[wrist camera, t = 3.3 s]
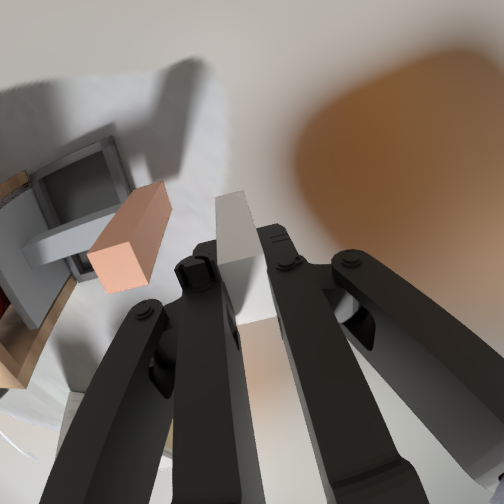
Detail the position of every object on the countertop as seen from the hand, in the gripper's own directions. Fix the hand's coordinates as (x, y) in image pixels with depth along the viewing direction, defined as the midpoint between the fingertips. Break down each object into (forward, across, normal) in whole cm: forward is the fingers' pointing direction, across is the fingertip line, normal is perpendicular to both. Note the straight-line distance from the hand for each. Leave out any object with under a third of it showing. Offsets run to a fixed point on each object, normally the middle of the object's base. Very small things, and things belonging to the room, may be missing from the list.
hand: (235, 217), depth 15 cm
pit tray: (+10, -13, 0) cm, 16 cm away
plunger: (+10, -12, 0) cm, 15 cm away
